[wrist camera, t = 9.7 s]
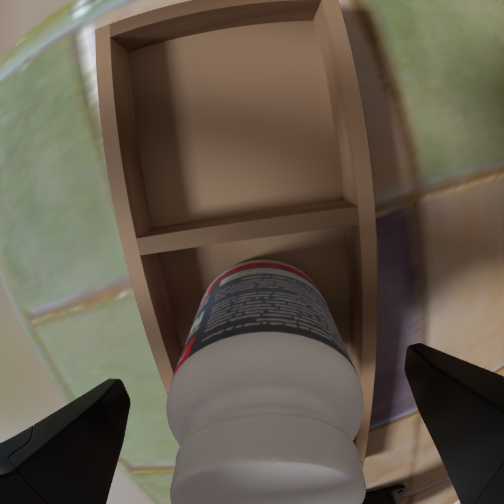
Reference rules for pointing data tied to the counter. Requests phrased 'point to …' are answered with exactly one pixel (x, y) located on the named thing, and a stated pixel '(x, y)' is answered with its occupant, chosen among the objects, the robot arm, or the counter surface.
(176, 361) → the bay tray
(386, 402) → the counter surface
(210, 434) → the pill bottle
